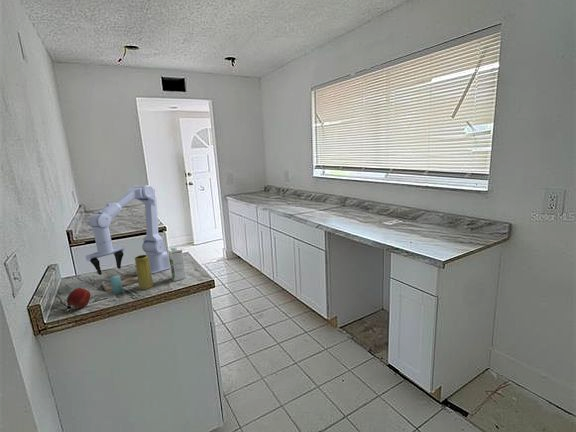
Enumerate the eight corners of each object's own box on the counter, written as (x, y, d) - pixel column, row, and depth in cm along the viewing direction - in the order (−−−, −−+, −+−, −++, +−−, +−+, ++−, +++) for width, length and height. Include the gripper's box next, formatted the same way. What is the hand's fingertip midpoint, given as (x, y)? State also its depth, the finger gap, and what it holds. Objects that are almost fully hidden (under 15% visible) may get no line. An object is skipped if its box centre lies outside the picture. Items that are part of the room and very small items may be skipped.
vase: (150, 282, 140) (145, 253, 137) (155, 286, 135) (150, 256, 132) (137, 287, 136) (131, 257, 133) (141, 290, 131) (136, 260, 128)
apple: (92, 307, 119) (88, 288, 117) (68, 314, 115) (63, 295, 113) (92, 300, 125) (88, 282, 124) (69, 306, 121) (65, 288, 120)
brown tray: (136, 274, 150) (135, 270, 150) (141, 281, 142) (141, 276, 142) (101, 284, 141) (100, 280, 141) (105, 291, 133) (104, 287, 132)
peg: (121, 289, 135) (119, 274, 133) (123, 291, 132) (121, 277, 130) (111, 292, 132) (108, 277, 131) (113, 295, 129) (110, 279, 128)
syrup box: (171, 277, 144) (167, 248, 141) (184, 274, 146) (180, 246, 143) (173, 281, 139) (168, 252, 136) (186, 278, 142) (182, 249, 138)
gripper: (118, 235, 136) (123, 264, 139) (81, 244, 125) (87, 274, 128) (124, 238, 131) (129, 267, 134) (86, 247, 121) (93, 278, 124)
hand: (109, 271), depth 131 cm, fingers open, 7 cm apart
